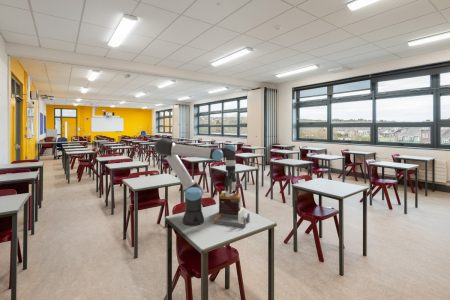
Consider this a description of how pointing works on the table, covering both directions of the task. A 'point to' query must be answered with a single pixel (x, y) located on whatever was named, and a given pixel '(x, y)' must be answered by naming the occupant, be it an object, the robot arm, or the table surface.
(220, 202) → the supplement box
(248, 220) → the grey tray
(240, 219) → the pusher
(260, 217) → the table surface
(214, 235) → the table surface
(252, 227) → the table surface
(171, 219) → the table surface
